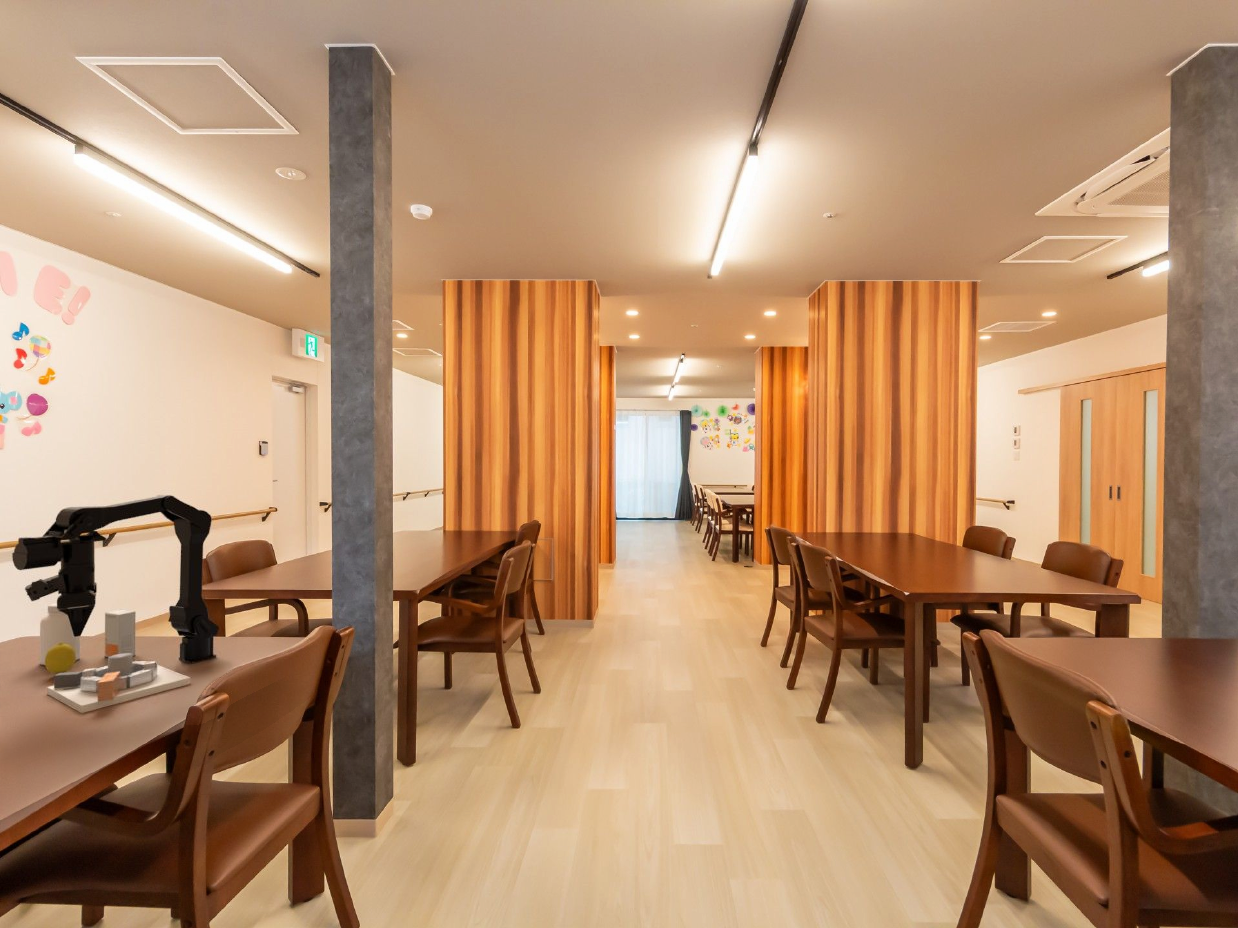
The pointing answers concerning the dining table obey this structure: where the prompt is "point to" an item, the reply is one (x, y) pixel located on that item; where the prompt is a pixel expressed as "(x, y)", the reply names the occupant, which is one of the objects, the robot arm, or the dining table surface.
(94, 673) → the toy block set
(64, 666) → the lemon
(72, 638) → the pill bottle
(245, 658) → the dining table surface
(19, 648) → the dining table surface
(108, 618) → the skincare box
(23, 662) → the dining table surface
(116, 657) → the base board
